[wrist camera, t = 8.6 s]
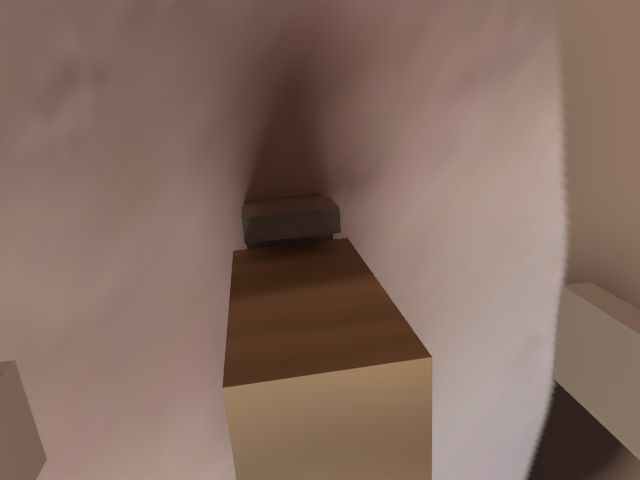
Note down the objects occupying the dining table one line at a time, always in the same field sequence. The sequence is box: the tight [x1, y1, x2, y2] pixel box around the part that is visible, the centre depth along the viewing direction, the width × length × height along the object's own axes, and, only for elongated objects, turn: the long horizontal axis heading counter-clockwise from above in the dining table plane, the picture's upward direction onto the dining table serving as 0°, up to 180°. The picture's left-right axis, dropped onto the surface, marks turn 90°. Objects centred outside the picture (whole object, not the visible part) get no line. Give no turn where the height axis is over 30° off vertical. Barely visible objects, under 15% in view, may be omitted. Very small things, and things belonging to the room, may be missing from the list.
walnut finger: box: [223, 238, 432, 480], centre depth 14 cm, size 6×4×8 cm, turn 4°
